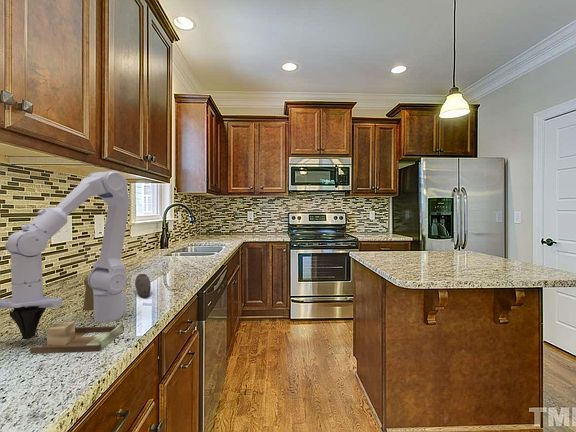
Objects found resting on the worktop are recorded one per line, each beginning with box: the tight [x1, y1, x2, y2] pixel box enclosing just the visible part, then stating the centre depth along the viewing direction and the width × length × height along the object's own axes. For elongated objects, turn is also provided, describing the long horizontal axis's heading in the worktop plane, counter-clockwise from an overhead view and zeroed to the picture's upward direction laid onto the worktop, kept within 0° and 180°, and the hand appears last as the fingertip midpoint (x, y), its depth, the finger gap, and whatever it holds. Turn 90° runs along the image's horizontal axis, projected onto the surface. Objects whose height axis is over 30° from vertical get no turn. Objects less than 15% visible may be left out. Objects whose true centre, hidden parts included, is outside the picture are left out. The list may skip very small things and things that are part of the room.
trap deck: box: [29, 323, 125, 355], centre depth 78 cm, size 12×15×4 cm
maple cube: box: [46, 321, 76, 346], centre depth 78 cm, size 4×4×4 cm
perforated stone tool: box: [134, 273, 152, 297], centre depth 124 cm, size 15×5×7 cm, turn 28°
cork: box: [83, 275, 94, 311], centre depth 108 cm, size 6×6×11 cm
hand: (29, 337), depth 77 cm, fingers closed
